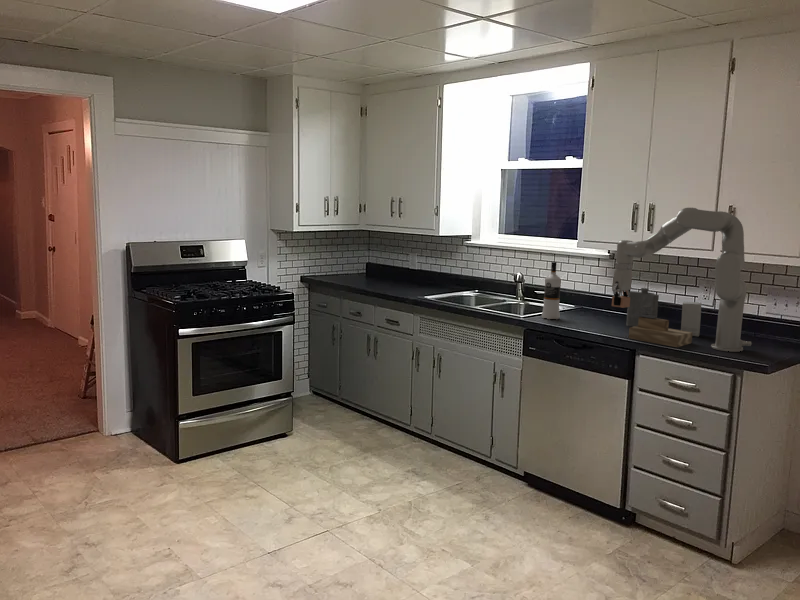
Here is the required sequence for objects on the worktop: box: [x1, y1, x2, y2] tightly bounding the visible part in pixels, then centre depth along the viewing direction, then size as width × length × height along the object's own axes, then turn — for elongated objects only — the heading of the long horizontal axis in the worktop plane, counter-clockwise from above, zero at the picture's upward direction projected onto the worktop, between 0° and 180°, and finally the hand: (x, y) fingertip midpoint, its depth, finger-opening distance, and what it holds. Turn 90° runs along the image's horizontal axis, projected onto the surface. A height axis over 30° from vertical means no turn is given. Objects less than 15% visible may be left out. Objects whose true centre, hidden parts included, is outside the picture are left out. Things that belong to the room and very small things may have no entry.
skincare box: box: [680, 301, 702, 337], centre depth 324 cm, size 8×7×16 cm
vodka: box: [541, 261, 562, 320], centre depth 358 cm, size 9×9×30 cm
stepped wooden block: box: [628, 317, 693, 348], centre depth 309 cm, size 14×23×10 cm, turn 42°
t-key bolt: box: [633, 306, 658, 319], centre depth 314 cm, size 6×10×5 cm, turn 42°
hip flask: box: [625, 287, 660, 327], centre depth 339 cm, size 16×4×20 cm, turn 39°
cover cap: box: [611, 295, 630, 309], centre depth 322 cm, size 6×6×4 cm
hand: (620, 304), depth 323 cm, fingers closed on cover cap, 6 cm apart
